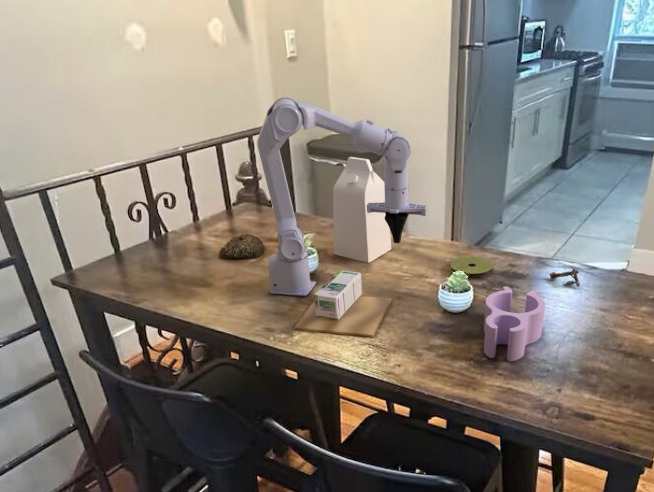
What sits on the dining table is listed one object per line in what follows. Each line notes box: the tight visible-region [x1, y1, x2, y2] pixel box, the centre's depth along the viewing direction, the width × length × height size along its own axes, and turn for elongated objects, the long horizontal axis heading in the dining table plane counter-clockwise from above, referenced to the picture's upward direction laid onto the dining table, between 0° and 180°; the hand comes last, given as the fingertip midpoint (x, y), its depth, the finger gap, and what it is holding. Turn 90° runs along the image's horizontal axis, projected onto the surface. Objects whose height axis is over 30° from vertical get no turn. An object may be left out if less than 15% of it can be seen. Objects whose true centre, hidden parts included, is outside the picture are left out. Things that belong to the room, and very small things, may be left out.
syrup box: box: [313, 269, 363, 320], centre depth 140 cm, size 6×6×14 cm
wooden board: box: [293, 295, 392, 338], centre depth 139 cm, size 18×18×1 cm
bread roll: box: [218, 233, 265, 259], centre depth 171 cm, size 13×12×5 cm
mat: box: [450, 256, 494, 275], centre depth 158 cm, size 11×11×2 cm
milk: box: [332, 156, 392, 264], centre depth 164 cm, size 12×12×26 cm
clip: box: [483, 285, 546, 362], centre depth 127 cm, size 20×12×7 cm, turn 160°
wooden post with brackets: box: [549, 268, 581, 288], centre depth 151 cm, size 2×8×4 cm, turn 44°
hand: (397, 241), depth 149 cm, fingers closed
